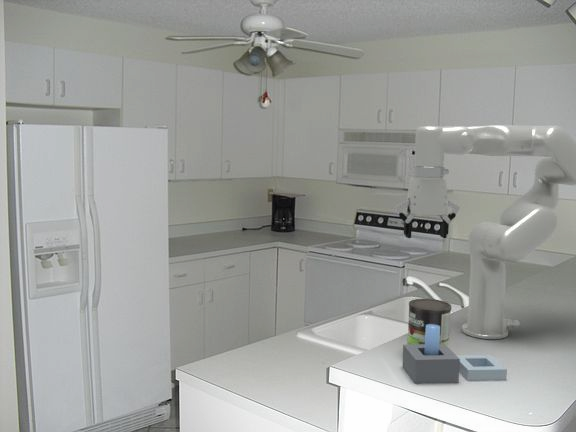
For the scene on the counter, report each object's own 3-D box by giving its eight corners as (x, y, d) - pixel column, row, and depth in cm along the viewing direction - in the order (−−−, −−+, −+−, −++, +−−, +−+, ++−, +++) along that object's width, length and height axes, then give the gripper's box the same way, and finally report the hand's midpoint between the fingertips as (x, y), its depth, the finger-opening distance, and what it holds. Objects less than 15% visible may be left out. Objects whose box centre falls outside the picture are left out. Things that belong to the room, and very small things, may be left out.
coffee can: (421, 368, 144) (423, 311, 142) (398, 354, 153) (400, 300, 151) (457, 363, 147) (460, 307, 145) (433, 349, 157) (435, 297, 155)
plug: (434, 373, 140) (437, 324, 139) (439, 379, 137) (442, 328, 136) (421, 373, 140) (423, 324, 139) (425, 379, 137) (428, 328, 135)
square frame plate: (489, 367, 145) (490, 355, 145) (506, 382, 136) (506, 369, 136) (453, 367, 144) (453, 355, 144) (467, 382, 135) (468, 370, 135)
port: (443, 367, 144) (444, 343, 143) (458, 384, 134) (459, 359, 134) (402, 368, 143) (403, 344, 142) (414, 385, 133) (415, 359, 133)
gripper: (455, 172, 163) (452, 235, 165) (392, 172, 162) (390, 235, 164) (465, 174, 156) (462, 239, 158) (400, 173, 154) (397, 239, 156)
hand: (425, 237), depth 161 cm, fingers open, 9 cm apart
